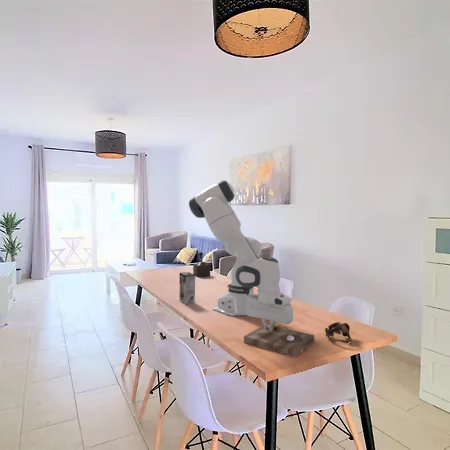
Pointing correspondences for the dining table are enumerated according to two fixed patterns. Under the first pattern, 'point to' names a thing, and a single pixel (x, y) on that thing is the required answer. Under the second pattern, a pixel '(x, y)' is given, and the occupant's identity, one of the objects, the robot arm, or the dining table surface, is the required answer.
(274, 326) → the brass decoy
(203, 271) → the manual coffee grinder
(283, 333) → the seat plate
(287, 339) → the steel ball
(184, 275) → the coffee box
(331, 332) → the dark brown arched piece
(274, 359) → the dining table surface
